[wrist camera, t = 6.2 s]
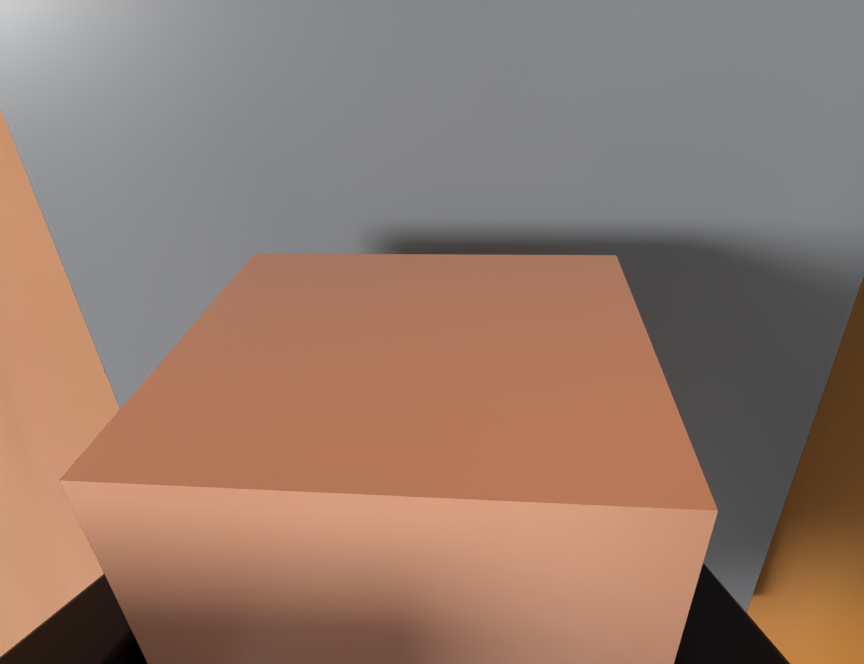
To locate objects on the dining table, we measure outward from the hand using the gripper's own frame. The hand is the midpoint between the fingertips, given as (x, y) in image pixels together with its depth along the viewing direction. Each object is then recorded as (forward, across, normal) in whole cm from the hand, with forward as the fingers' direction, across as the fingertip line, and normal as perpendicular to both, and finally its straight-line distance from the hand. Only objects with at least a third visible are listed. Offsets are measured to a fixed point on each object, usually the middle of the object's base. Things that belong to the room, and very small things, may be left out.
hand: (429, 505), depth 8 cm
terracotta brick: (+1, 0, 0) cm, 1 cm away
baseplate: (+3, 0, 0) cm, 3 cm away
